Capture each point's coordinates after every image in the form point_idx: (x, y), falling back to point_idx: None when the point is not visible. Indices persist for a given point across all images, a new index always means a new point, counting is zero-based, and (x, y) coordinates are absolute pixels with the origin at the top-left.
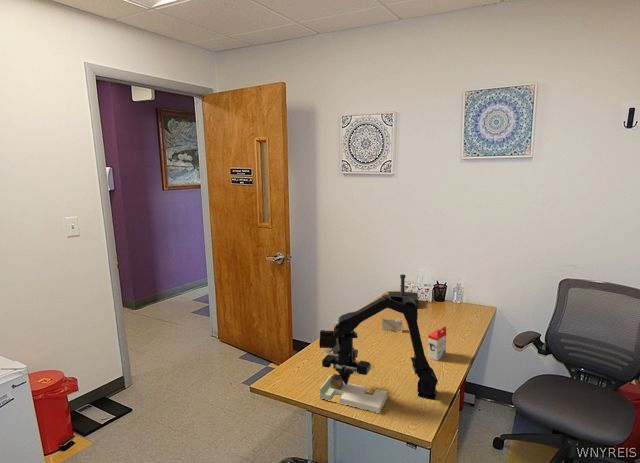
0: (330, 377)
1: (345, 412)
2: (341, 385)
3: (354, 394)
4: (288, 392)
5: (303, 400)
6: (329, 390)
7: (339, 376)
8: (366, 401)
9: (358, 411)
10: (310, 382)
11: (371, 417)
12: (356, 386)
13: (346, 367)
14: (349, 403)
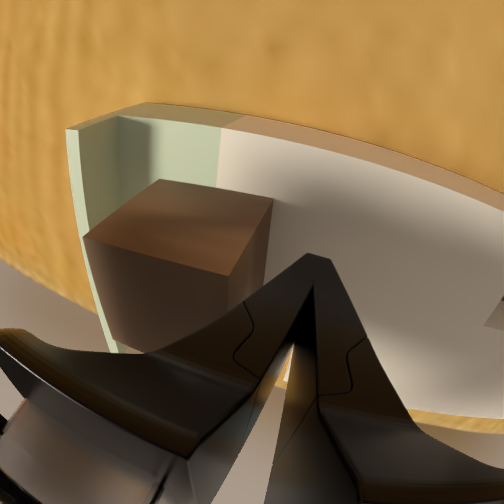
0: (87, 175)
1: None
2: (257, 281)
3: (404, 348)
4: (18, 247)
5: (92, 305)
6: None
7: (179, 304)
8: (471, 398)
9: None
10: (29, 128)
11: None
12: (443, 224)
13: (228, 422)
14: None
